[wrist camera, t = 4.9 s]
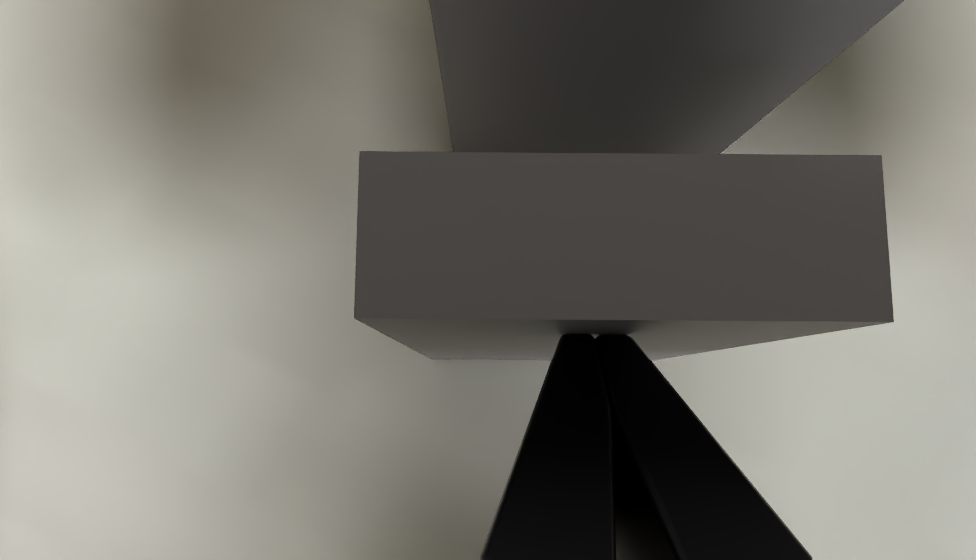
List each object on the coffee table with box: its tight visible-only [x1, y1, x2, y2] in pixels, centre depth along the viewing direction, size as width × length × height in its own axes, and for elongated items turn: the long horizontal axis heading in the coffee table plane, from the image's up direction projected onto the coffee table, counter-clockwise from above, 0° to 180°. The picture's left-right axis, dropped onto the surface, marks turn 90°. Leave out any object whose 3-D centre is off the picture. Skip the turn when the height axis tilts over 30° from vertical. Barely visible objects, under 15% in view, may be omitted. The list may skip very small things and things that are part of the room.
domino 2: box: [354, 151, 894, 360], centre depth 12 cm, size 2×5×10 cm, turn 89°
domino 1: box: [429, 0, 904, 154], centre depth 12 cm, size 2×5×10 cm, turn 76°
